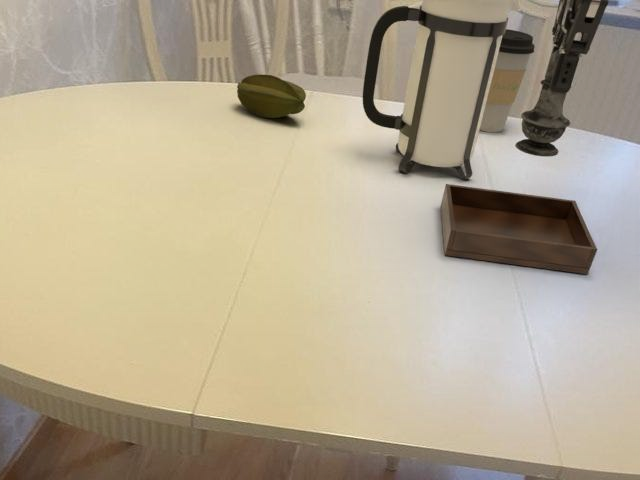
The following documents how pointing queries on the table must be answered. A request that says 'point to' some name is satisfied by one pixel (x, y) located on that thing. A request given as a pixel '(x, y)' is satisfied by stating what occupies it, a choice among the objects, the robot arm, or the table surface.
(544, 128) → the salt shaker
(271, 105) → the fruit
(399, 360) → the table surface
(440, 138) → the coffee press
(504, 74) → the coffee cup
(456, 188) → the tray
